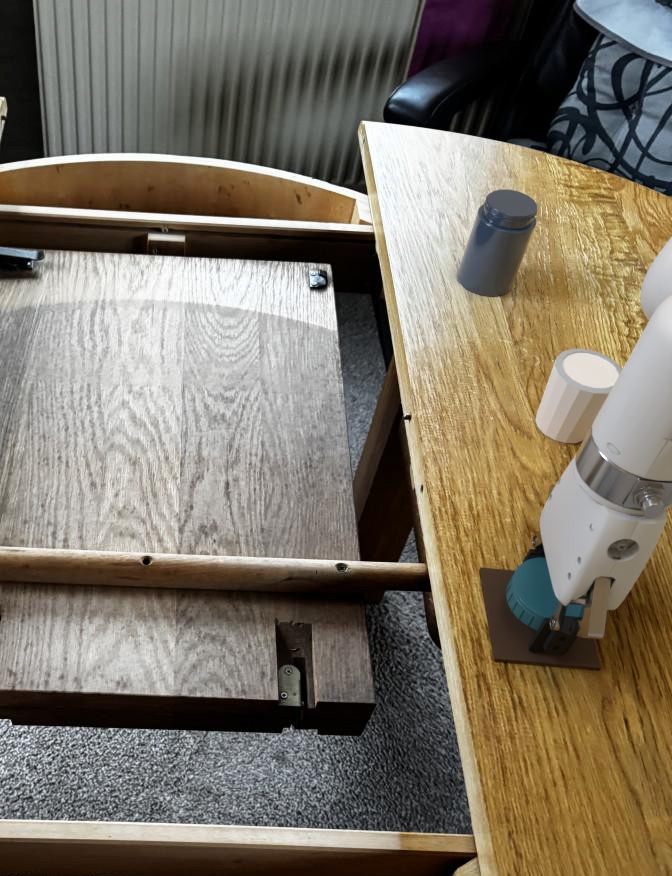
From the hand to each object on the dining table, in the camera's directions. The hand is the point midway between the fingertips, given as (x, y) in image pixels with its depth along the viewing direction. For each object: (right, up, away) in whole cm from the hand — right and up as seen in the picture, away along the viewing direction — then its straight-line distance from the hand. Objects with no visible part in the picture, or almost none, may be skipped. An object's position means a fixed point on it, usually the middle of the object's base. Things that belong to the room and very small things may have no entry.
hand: (539, 614), depth 80 cm
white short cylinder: (+8, +20, +16) cm, 27 cm away
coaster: (0, 0, +1) cm, 1 cm away
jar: (+5, +41, +31) cm, 51 cm away
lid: (0, +2, -3) cm, 3 cm away
